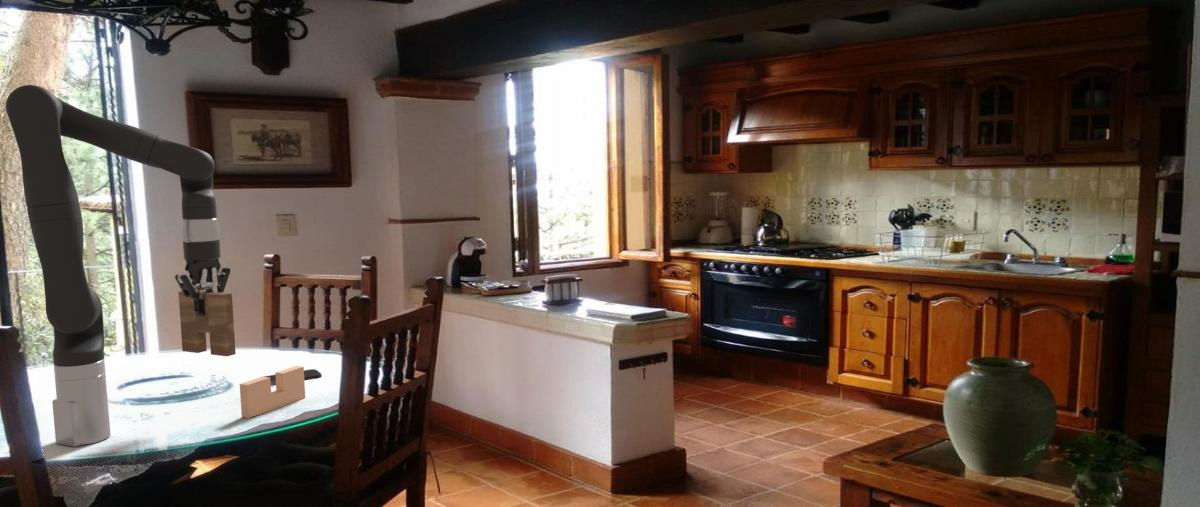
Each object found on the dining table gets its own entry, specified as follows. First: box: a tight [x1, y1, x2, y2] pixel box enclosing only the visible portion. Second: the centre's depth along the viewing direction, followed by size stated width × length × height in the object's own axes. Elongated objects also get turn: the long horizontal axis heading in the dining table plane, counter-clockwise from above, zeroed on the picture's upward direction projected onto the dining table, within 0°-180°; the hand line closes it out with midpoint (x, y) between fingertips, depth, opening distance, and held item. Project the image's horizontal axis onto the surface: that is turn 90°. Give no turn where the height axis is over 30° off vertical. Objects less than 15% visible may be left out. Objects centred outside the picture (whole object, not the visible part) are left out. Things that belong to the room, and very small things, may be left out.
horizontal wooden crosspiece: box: [239, 365, 306, 419], centre depth 200 cm, size 18×2×8 cm, turn 157°
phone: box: [262, 368, 322, 386], centre depth 227 cm, size 8×1×15 cm
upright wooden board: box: [178, 290, 236, 357], centre depth 188 cm, size 2×14×14 cm, turn 67°
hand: (206, 313), depth 188 cm, fingers closed on upright wooden board, 2 cm apart
